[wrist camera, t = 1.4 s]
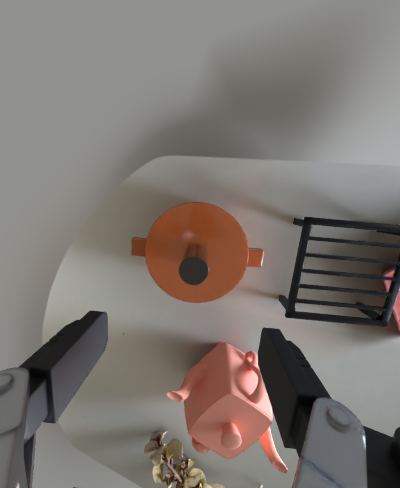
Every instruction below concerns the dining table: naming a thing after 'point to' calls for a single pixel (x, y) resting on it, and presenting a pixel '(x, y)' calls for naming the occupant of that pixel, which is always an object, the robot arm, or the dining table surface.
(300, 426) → the robot arm
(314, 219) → the rack
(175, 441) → the artificial flower
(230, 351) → the teapot
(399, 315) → the plant saucer
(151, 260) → the lid
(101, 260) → the dining table surface
